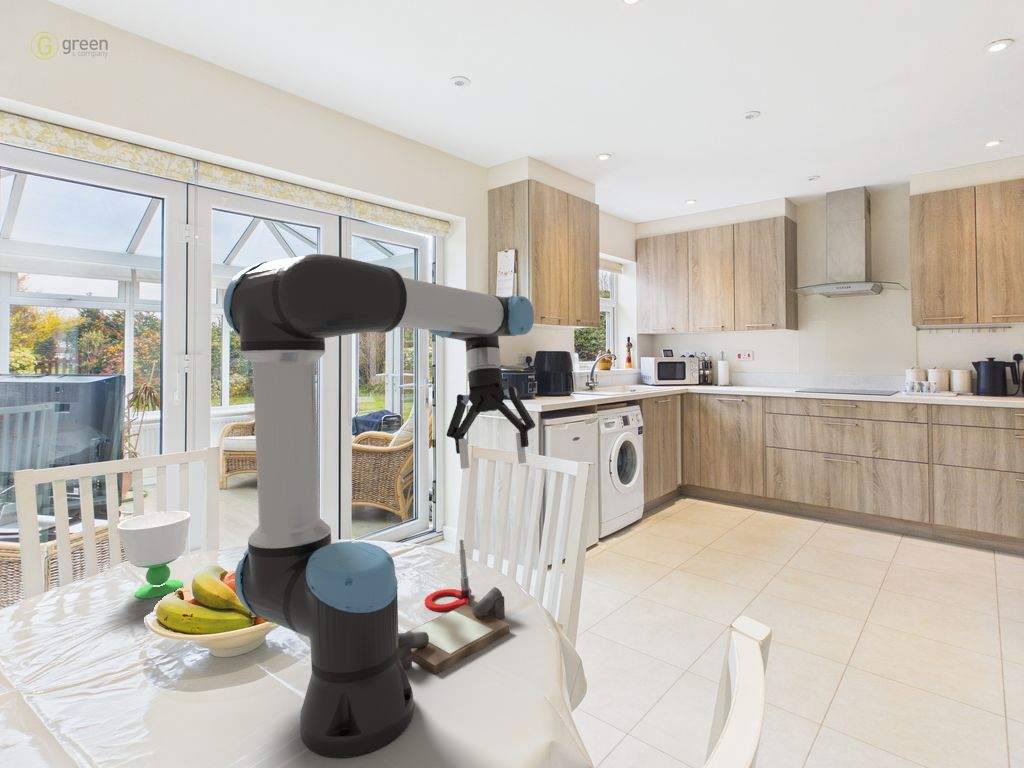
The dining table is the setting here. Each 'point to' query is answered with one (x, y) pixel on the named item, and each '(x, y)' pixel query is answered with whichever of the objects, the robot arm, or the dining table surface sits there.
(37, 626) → the dining table surface
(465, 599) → the tow hook
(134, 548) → the cup
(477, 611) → the shaft stand
